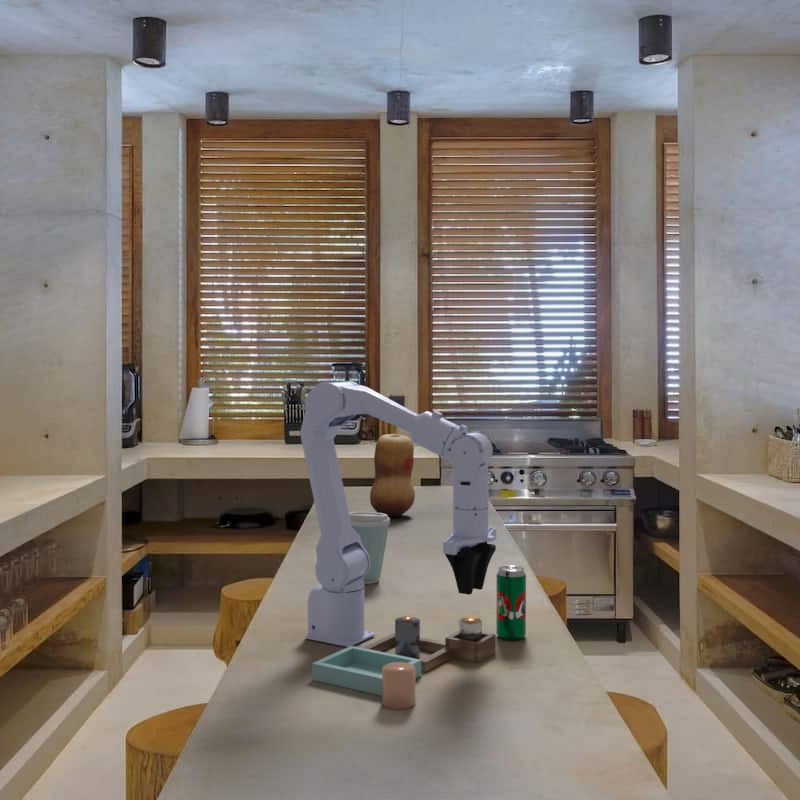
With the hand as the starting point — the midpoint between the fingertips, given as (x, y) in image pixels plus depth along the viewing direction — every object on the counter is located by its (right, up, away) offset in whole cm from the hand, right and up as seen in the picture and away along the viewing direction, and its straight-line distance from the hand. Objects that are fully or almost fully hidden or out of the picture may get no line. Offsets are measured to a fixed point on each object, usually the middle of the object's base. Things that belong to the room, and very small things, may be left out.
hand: (470, 591), depth 150 cm
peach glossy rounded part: (-12, -11, -21) cm, 26 cm away
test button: (0, -7, 0) cm, 7 cm away
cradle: (-10, -11, -1) cm, 15 cm away
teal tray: (-16, -11, -10) cm, 22 cm away
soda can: (+8, -10, +10) cm, 16 cm away
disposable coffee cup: (-19, -8, +50) cm, 54 cm away
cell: (-10, -11, -1) cm, 15 cm away
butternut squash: (-14, -5, +131) cm, 132 cm away
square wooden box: (0, -10, 0) cm, 10 cm away
